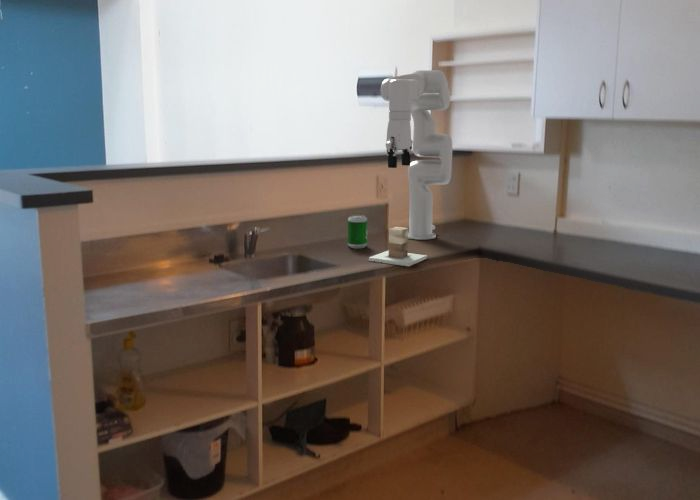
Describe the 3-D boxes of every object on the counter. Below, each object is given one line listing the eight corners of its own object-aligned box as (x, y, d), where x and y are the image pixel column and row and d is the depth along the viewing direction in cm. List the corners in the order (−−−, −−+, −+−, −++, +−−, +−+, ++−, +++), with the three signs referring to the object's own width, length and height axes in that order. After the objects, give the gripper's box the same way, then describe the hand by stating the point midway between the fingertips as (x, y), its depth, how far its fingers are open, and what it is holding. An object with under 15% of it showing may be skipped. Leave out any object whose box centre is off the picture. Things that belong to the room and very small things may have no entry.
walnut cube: (395, 253, 257) (395, 240, 256) (407, 255, 255) (407, 241, 254) (388, 256, 253) (388, 242, 252) (400, 258, 251) (401, 244, 250)
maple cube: (395, 240, 256) (395, 226, 255) (407, 241, 254) (408, 228, 252) (388, 242, 252) (388, 228, 251) (401, 244, 250) (401, 230, 248)
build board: (388, 253, 264) (388, 249, 264) (426, 258, 256) (427, 255, 255) (368, 260, 253) (368, 257, 252) (408, 266, 244) (408, 262, 244)
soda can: (365, 249, 272) (365, 218, 269) (346, 248, 273) (345, 217, 271) (368, 245, 279) (368, 215, 276) (349, 244, 280) (349, 214, 278)
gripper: (402, 115, 253) (401, 164, 256) (377, 117, 238) (377, 168, 242) (421, 116, 249) (420, 165, 252) (397, 117, 234) (396, 169, 238)
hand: (399, 166), depth 247 cm, fingers open, 9 cm apart
